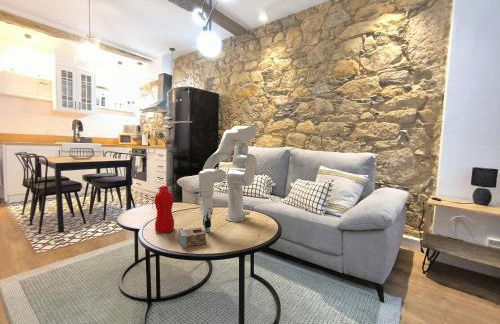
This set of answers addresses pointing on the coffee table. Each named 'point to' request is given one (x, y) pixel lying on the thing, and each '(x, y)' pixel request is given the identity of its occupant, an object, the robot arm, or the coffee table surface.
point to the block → (195, 236)
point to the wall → (182, 238)
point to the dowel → (204, 226)
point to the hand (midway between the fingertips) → (207, 226)
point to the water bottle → (164, 210)
